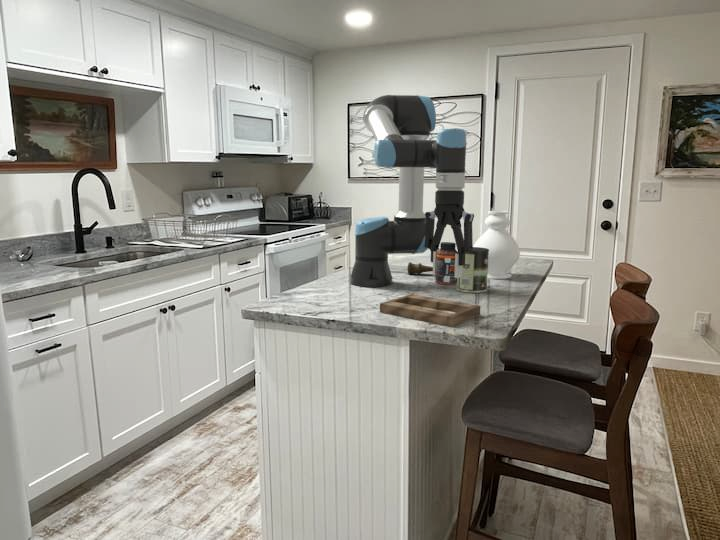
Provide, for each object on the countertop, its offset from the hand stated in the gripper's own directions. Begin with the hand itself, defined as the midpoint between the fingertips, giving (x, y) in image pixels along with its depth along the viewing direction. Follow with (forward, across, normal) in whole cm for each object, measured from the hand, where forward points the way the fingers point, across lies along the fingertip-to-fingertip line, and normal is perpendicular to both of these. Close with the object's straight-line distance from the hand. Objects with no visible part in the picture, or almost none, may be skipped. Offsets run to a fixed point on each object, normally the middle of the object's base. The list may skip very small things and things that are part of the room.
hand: (447, 275), depth 143 cm
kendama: (+11, -34, +50) cm, 62 cm away
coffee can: (+11, -11, +36) cm, 39 cm away
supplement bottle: (+2, 0, 0) cm, 3 cm away
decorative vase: (+11, -16, +65) cm, 68 cm away
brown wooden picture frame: (+11, -5, 0) cm, 12 cm away
